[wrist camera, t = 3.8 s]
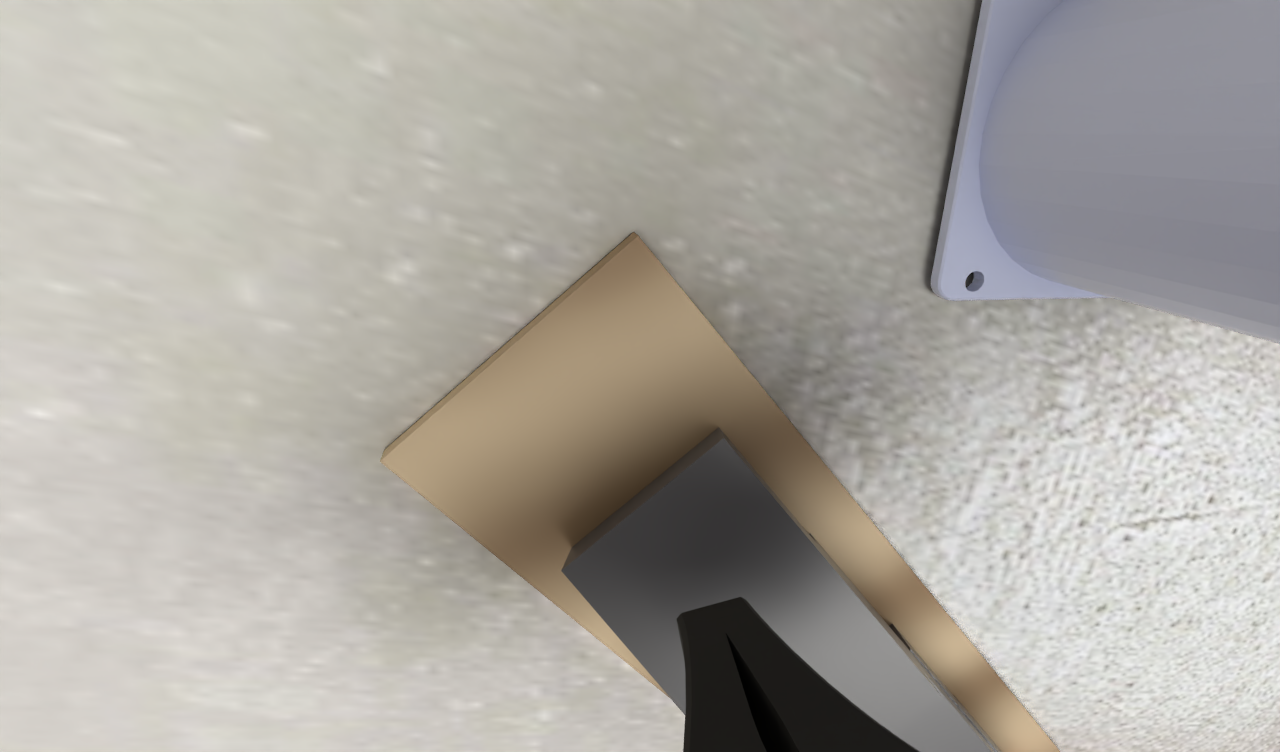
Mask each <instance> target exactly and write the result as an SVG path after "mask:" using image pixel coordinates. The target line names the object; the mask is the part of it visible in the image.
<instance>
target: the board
mask: <svg viewBox="0 0 1280 752" xmlns="http://www.w3.org/2000/svg"><path fill="white" fill-rule="evenodd" d="M718 427H719V428H720V429H721V430H722V431H723V433H724V434H725V435H726V436H727V437H728V439H729V440H730V441H731V442H732V443H733V444H734V446H735V447H736V448H737V449H738V450H739V452H740V453H741V454H742V455H743V456H744V458H745V459H746V460H747V461H748V462H749V463H750V465H751V466H752V467H753V468H754V469H755V471H756V472H757V473H758V474H759V475H760V476H761V478H762V479H763V480H764V481H765V482H766V484H767V485H768V486H769V487H770V488H771V490H772V491H773V492H774V493H775V494H776V495H777V497H778V498H779V499H780V500H781V501H782V503H783V504H784V505H785V506H786V507H787V509H788V510H789V511H790V512H791V513H792V514H793V516H794V517H795V518H796V519H797V520H798V522H799V523H800V524H801V525H802V526H803V528H804V529H805V530H806V531H807V532H808V533H809V534H810V533H811V534H812V536H813V537H814V538H815V539H816V540H817V542H818V543H819V544H820V545H821V546H822V547H823V549H824V550H825V551H826V552H827V553H828V555H829V556H830V557H831V558H832V559H833V560H834V562H835V563H836V564H837V565H838V566H839V568H840V569H841V570H842V571H843V572H844V573H845V575H846V576H847V577H848V578H849V579H850V581H851V582H852V583H853V584H854V585H855V586H856V588H857V589H858V590H859V591H860V592H861V594H862V595H863V596H864V597H865V598H866V599H867V601H868V602H869V603H870V604H871V605H872V607H873V608H874V609H875V610H876V611H877V612H878V614H879V615H880V616H881V617H882V618H883V620H884V621H885V622H886V623H887V624H888V625H889V626H890V625H891V624H893V625H894V626H895V627H896V628H897V630H898V631H899V632H900V633H901V634H902V635H903V637H904V638H905V639H906V640H907V641H908V643H909V644H910V645H911V646H912V647H913V648H914V650H915V651H916V652H917V653H918V654H919V656H920V657H921V658H922V659H923V660H924V661H925V663H926V664H927V665H928V666H929V667H930V668H931V670H932V671H933V672H934V673H935V674H936V676H937V677H938V678H939V679H940V680H941V681H942V683H943V684H944V685H945V686H946V687H947V689H948V690H949V691H950V692H951V693H952V694H953V696H955V697H956V698H957V699H958V700H959V701H960V703H961V704H962V705H963V706H964V707H965V709H966V710H967V711H968V712H969V713H970V714H971V716H972V717H973V718H974V719H975V720H976V722H977V723H978V724H979V725H980V726H981V727H982V729H983V730H984V731H985V732H986V733H987V734H988V736H989V737H990V738H991V739H992V740H993V742H994V743H995V744H996V745H997V746H998V747H999V749H1000V750H1001V751H1002V752H1060V751H1059V750H1058V748H1057V747H1056V746H1055V745H1054V744H1053V742H1052V741H1051V740H1050V739H1049V737H1048V736H1047V735H1046V734H1045V733H1044V731H1043V730H1042V729H1041V728H1040V726H1039V725H1038V724H1037V723H1036V722H1035V720H1034V719H1033V718H1032V717H1031V715H1030V714H1029V713H1028V712H1027V711H1026V709H1025V708H1024V707H1023V706H1022V704H1021V703H1020V702H1019V701H1018V700H1017V698H1016V697H1015V696H1014V695H1013V693H1012V692H1011V691H1010V690H1009V689H1008V687H1007V686H1006V685H1005V684H1004V682H1003V681H1002V680H1001V679H1000V678H999V676H998V675H997V674H996V673H995V671H994V670H993V669H992V668H991V667H990V665H989V664H988V663H987V662H986V660H985V659H984V658H983V657H982V656H981V654H980V653H979V652H978V651H977V649H976V648H975V647H974V646H973V644H972V643H971V642H970V641H969V640H968V638H967V637H966V636H965V635H964V633H963V632H962V631H961V630H960V629H959V627H958V626H957V625H956V624H955V622H954V621H953V620H952V619H951V618H950V616H949V615H948V614H947V613H946V611H945V610H944V609H943V608H942V607H941V605H940V604H939V603H938V602H937V600H936V599H935V598H934V597H933V596H932V594H931V593H930V592H929V591H928V589H927V588H926V587H925V586H924V585H923V583H922V582H921V581H920V580H919V578H918V577H917V576H916V575H915V574H914V572H913V571H912V570H911V569H910V567H909V566H908V565H907V564H906V563H905V561H904V560H903V559H902V558H901V556H900V555H899V554H898V553H897V552H896V550H895V549H894V548H893V547H892V545H891V544H890V543H889V542H888V541H887V539H886V538H885V537H884V536H883V534H882V533H881V532H880V531H879V530H878V528H877V527H876V526H875V525H874V523H873V522H872V521H871V520H870V519H869V517H868V516H867V515H866V514H865V512H864V511H863V510H862V509H861V508H860V506H859V505H858V504H857V503H856V501H855V500H854V499H853V498H852V497H851V495H850V494H849V493H848V492H847V490H846V489H845V488H844V487H843V486H842V484H841V483H840V482H839V481H838V479H837V478H836V477H835V476H834V474H833V473H832V472H831V471H830V470H829V468H828V467H827V466H826V465H825V463H824V462H823V461H822V460H821V459H820V457H819V456H818V455H817V454H816V452H815V451H814V450H813V449H812V448H811V446H810V445H809V444H808V443H807V441H806V440H805V439H804V438H803V437H802V435H801V434H800V433H799V432H798V430H797V429H796V428H795V427H794V426H793V424H792V423H791V422H790V421H789V419H788V418H787V417H786V416H785V415H784V413H783V412H782V411H781V410H780V408H779V407H778V406H777V405H776V404H775V402H774V401H773V400H772V399H771V397H770V396H769V395H768V394H767V393H766V391H765V390H764V389H763V388H762V386H761V385H760V384H759V383H758V382H757V380H756V379H755V378H754V377H753V375H752V374H751V373H750V372H749V371H748V369H747V368H746V367H745V366H744V364H743V363H742V362H741V361H740V360H739V358H738V357H737V356H736V355H735V353H734V352H733V351H732V350H731V349H730V347H729V346H728V345H727V344H726V342H725V341H724V340H723V339H722V338H721V336H720V335H719V334H718V333H717V331H716V330H715V329H714V328H713V327H712V325H711V324H710V323H709V322H708V320H707V319H706V318H705V317H704V316H703V314H702V313H701V312H700V311H699V309H698V308H697V307H696V306H695V305H694V303H693V302H692V301H691V300H690V298H689V297H688V296H687V295H686V293H685V292H684V291H683V290H682V289H681V287H680V286H679V285H678V284H677V282H676V281H675V280H674V279H673V278H672V276H671V275H670V274H669V273H668V271H667V270H666V269H665V268H664V267H663V265H662V264H661V263H660V262H659V260H658V259H657V258H656V257H655V256H654V254H653V253H652V252H651V251H650V249H649V248H648V247H647V246H646V245H645V243H644V242H643V241H642V240H641V238H640V237H639V236H638V235H637V234H636V233H634V232H633V233H632V234H631V235H630V236H628V237H627V238H626V239H625V240H624V241H623V242H622V243H620V244H619V245H618V246H617V247H616V248H615V249H614V250H612V251H611V252H610V253H609V254H608V255H607V256H606V257H604V258H603V259H602V260H601V261H600V262H599V263H598V264H596V265H595V266H594V267H593V268H592V269H591V270H590V271H588V272H587V273H586V274H585V275H584V276H583V277H582V278H580V279H579V280H578V281H577V282H576V283H575V284H574V285H572V286H571V287H570V288H569V289H568V290H567V291H566V292H564V293H563V294H562V295H561V296H560V297H559V298H558V299H556V300H555V301H554V302H553V303H552V304H551V305H550V306H548V307H547V308H546V309H545V310H544V311H543V312H542V313H540V314H539V315H538V316H537V317H536V318H535V319H534V320H532V321H531V322H530V323H529V324H528V325H527V326H526V327H524V328H523V329H522V330H521V331H520V332H519V333H518V334H516V335H515V336H514V337H513V338H512V339H511V340H510V341H508V342H507V343H506V344H505V345H504V346H503V347H502V348H500V349H499V350H498V351H497V352H496V353H495V354H494V355H492V356H491V357H490V358H489V359H488V360H487V361H486V362H484V363H483V364H482V365H481V366H480V367H479V368H478V369H476V370H475V371H474V372H473V373H472V374H471V375H470V376H468V377H467V378H466V379H465V380H464V381H463V382H462V383H460V384H459V385H458V386H457V387H456V388H455V389H454V390H452V391H451V392H450V393H449V394H448V395H447V396H446V397H444V398H443V399H442V400H441V401H440V402H439V403H438V404H436V405H435V406H434V407H433V408H432V409H431V410H430V411H428V412H427V413H426V414H425V415H424V416H423V417H422V418H420V419H419V420H418V421H417V422H416V423H415V424H414V425H412V426H411V427H410V428H409V429H408V430H407V431H406V432H404V433H403V434H402V435H401V436H400V437H399V438H398V439H396V440H395V441H394V442H393V443H392V444H391V445H390V446H388V447H387V448H386V449H385V450H384V452H383V455H382V457H381V460H380V462H381V463H382V464H384V465H385V466H386V467H387V468H389V469H390V470H391V471H392V472H393V473H395V474H396V475H397V476H398V477H400V478H401V479H402V480H403V481H404V482H406V483H407V484H408V485H409V486H411V487H412V488H413V489H414V490H416V491H417V492H418V493H419V494H420V495H422V496H423V497H424V498H425V499H427V500H428V501H429V502H430V503H431V504H433V505H434V506H435V507H436V508H438V509H439V510H440V511H441V512H442V513H444V514H445V515H446V516H447V517H449V518H450V519H451V520H452V521H454V522H455V523H456V524H457V525H458V526H460V527H461V528H462V529H463V530H465V531H466V532H467V533H468V534H469V535H471V536H472V537H473V538H474V539H476V540H477V541H478V542H479V543H480V544H482V545H483V546H484V547H485V548H487V549H488V550H489V551H490V552H492V553H493V554H494V555H495V556H496V557H498V558H499V559H500V560H501V561H503V562H504V563H505V564H506V565H507V566H509V567H510V568H511V569H512V570H514V571H515V572H516V573H517V574H518V575H520V576H521V577H522V578H523V579H525V580H526V581H527V582H528V583H530V584H531V585H532V586H533V587H534V588H536V589H537V590H538V591H539V592H541V593H542V594H543V595H544V596H545V597H547V598H548V599H549V600H550V601H552V602H553V603H554V604H555V605H556V606H558V607H559V608H560V609H561V610H563V611H564V612H565V613H566V614H568V615H569V616H570V617H571V618H572V619H574V620H575V621H576V622H577V623H579V624H580V625H581V626H582V627H583V628H585V629H586V630H587V631H588V632H590V633H591V634H592V635H593V636H595V637H596V638H597V639H598V640H599V641H601V642H602V643H603V644H604V645H606V646H607V647H608V648H609V649H610V650H612V651H613V652H614V653H615V654H617V655H618V656H619V657H620V658H621V659H623V660H624V661H625V662H626V663H628V664H629V665H630V666H631V667H633V668H634V669H635V670H636V671H637V672H639V673H640V674H641V675H642V676H644V677H645V678H646V679H647V680H648V681H650V682H651V683H652V684H653V685H655V686H656V687H657V688H658V689H659V690H661V691H662V692H663V693H664V694H666V695H667V693H666V692H665V691H664V690H663V689H662V688H661V687H660V685H659V684H658V683H657V682H656V681H655V680H654V678H653V677H652V676H651V675H650V674H649V673H648V671H647V670H646V669H645V668H644V667H643V666H642V664H641V663H640V662H639V661H638V660H637V659H636V657H635V656H634V655H633V654H632V653H631V652H630V650H629V649H628V648H627V647H626V646H625V645H624V643H623V642H622V641H621V640H620V639H619V638H618V636H617V635H616V634H615V633H614V632H613V631H612V629H611V628H610V627H609V626H608V625H607V624H606V622H605V621H604V620H603V619H602V618H601V617H600V616H599V614H598V613H597V612H596V611H595V610H594V609H593V607H592V606H591V605H590V604H589V603H588V602H587V600H586V599H585V598H584V597H583V596H582V595H581V593H580V592H579V591H578V590H577V589H576V588H575V586H574V585H573V584H572V583H571V582H570V581H569V579H568V578H567V577H566V576H565V575H564V574H563V572H562V571H561V570H562V568H563V565H564V563H565V561H566V559H567V557H568V554H569V552H570V550H571V548H572V547H573V546H574V545H575V544H577V543H578V542H579V541H580V540H581V539H583V538H584V537H585V536H586V535H588V534H589V533H590V532H591V531H592V530H594V529H595V528H596V527H597V526H599V525H600V524H601V523H602V522H603V521H605V520H606V519H607V518H608V517H610V516H611V515H612V514H613V513H614V512H616V511H617V510H618V509H619V508H621V507H622V506H623V505H624V504H625V503H627V502H628V501H629V500H630V499H632V498H633V497H634V496H635V495H636V494H638V493H639V492H640V491H641V490H643V489H644V488H645V487H646V486H647V485H649V484H650V483H651V482H652V481H654V480H655V479H656V478H657V477H658V476H660V475H661V474H662V473H663V472H665V471H666V470H667V469H668V468H669V467H671V466H672V465H673V464H674V463H676V462H677V461H678V460H679V459H680V458H682V457H683V456H684V455H685V454H687V453H688V452H689V451H690V450H691V449H693V448H694V447H695V446H696V445H698V444H699V443H700V442H701V441H702V440H704V439H705V438H706V437H707V436H709V435H710V434H711V433H712V432H713V431H715V430H716V429H717V428H718ZM667 696H668V695H667ZM668 697H669V696H668ZM669 698H670V697H669Z"/></svg>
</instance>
